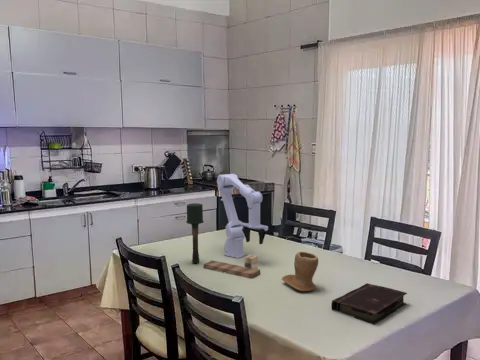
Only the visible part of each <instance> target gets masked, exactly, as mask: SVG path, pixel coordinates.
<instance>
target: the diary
mask: <svg viewBox="0 0 480 360" xmlns="http://www.w3.org/2000/svg"><path fill="white" fill-rule="evenodd" d="M407 294H408V293H407V292H406V291H401V290H398V289H394V288H390V287H385V286H382V285H378V284H377V285H376V284H371V283H367V282H366V283H365V284H362V285H361V286H359V287H357V288H355V289H352V290H351V291H348V292H347V293H345V294H344V295H341V296H339V297H337V298H334V299H332V300H331V303H330V304H331V310H332V311H335V310H336V311H337V312H339V311H340V313H343V314H345V315H347V316H352V317H353V318H354V319H357V320H359V321H361V322H365V323H367V324H371V325H376V324H378V323H379V322H381V321H383V320H385V319H386V318H388V317H389V316H390V315H391V314H394V313H395V312H397V310H399V309H401V308H403V307H404V306H406V305H407V303H406V302H404V296H405V295H407Z"/></svg>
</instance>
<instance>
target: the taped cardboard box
mask: <svg viewBox="0 0 480 360" xmlns="http://www.w3.org/2000/svg"><path fill="white" fill-rule="evenodd" d="M244 267H248V268H252V269H257V270H258V255H253V254H249V255H247V256H244Z"/></svg>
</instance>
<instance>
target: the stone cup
mask: <svg viewBox="0 0 480 360" xmlns="http://www.w3.org/2000/svg"><path fill="white" fill-rule="evenodd" d="M293 261H294V263H293V264H294V274H285V275H284V276H282V277H281V280H282V281H283V282H284V283H285V284H288V286H290V287H291V288H294V289H296V291H297V290H298V291H301V292H309V291H313V290H315V289H316V288H317V286H316V285H315V284H314V281H313V278H314V275H315V273H316V272H317V269H318V265H319V257H318V256H317V255H316V254H314V253H311V252H307V251H298V252H297V253H296V254H295V257H294V260H293Z"/></svg>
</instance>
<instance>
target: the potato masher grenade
mask: <svg viewBox="0 0 480 360" xmlns="http://www.w3.org/2000/svg"><path fill="white" fill-rule="evenodd" d="M203 206H204V205H203V203H197V202H196V203H188V204H187V205H186V224H189V225H191V235H192V257H191V258H192V259H191V262H192V264H193V263H198V264H199V263H200V255H199V253H200V252H199V225H200V224H203V223H204V222H205V221H204V218H203V217H204V215H203V214H204V213H203V211H204V210H203Z"/></svg>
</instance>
